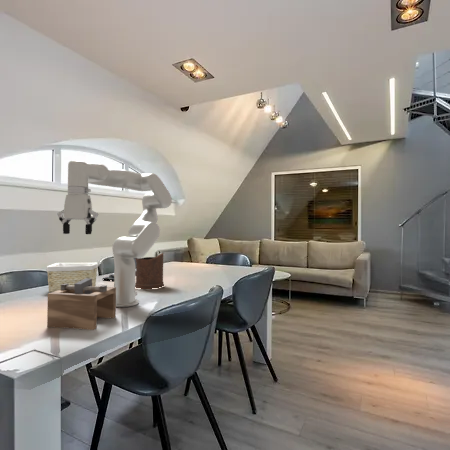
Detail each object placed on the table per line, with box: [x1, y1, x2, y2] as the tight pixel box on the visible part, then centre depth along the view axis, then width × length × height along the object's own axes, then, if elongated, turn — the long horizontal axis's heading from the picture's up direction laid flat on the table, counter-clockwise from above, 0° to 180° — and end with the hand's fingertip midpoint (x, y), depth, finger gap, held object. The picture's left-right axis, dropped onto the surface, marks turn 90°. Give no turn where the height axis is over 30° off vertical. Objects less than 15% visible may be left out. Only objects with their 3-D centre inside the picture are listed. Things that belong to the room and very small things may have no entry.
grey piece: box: [74, 278, 92, 294], centre depth 120 cm, size 8×2×8 cm, turn 174°
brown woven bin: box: [134, 252, 165, 289], centre depth 189 cm, size 18×24×25 cm
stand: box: [46, 284, 117, 331], centre depth 120 cm, size 16×18×14 cm
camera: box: [101, 273, 114, 282], centre depth 209 cm, size 5×10×4 cm, turn 71°
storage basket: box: [45, 261, 99, 293], centre depth 178 cm, size 24×16×15 cm
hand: (77, 233), depth 127 cm, fingers open, 9 cm apart
